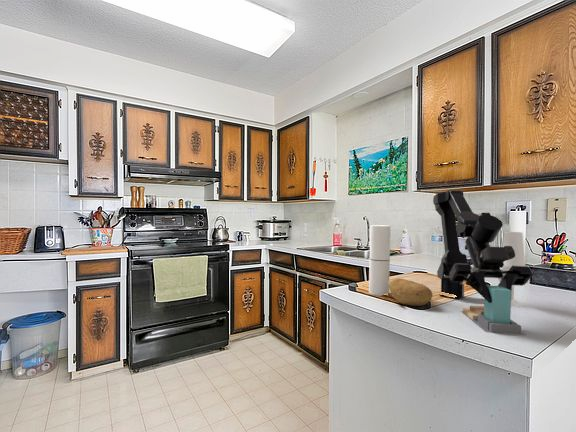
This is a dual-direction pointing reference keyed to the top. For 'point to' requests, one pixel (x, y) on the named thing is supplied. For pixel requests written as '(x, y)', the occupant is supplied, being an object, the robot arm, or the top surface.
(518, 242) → the champagne flute
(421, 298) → the potato
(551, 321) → the top surface
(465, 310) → the offcut stack
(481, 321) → the slotted grey block
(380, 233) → the cylindrical container
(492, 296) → the teal slat
